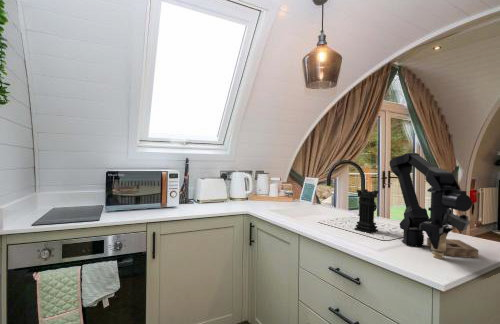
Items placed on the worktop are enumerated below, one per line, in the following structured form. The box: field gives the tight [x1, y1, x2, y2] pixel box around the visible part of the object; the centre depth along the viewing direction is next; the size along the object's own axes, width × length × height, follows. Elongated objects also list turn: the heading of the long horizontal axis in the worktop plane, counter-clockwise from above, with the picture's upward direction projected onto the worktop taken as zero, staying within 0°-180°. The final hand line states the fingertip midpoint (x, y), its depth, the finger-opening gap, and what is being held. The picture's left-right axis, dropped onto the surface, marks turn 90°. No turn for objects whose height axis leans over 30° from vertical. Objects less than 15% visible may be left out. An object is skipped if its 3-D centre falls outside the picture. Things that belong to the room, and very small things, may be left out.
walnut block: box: [426, 237, 479, 259], centre depth 106 cm, size 12×12×3 cm
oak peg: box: [430, 233, 447, 260], centre depth 98 cm, size 4×4×9 cm
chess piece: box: [353, 188, 379, 234], centre depth 132 cm, size 8×8×20 cm
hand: (438, 247), depth 98 cm, fingers closed on oak peg, 4 cm apart
